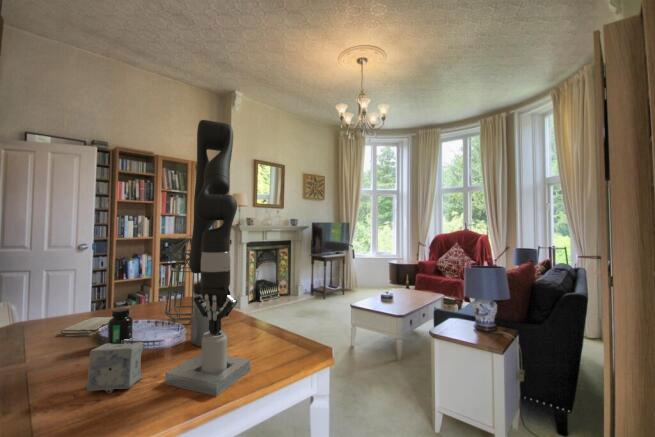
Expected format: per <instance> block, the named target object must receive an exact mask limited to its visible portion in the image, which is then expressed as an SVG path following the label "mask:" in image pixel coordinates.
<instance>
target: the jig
mask: <svg viewBox="0 0 655 437" xmlns="http://www.w3.org/2000/svg"><path fill="white" fill-rule="evenodd" d="M201 365H202V352H201V353H199V354H197V355H196V356H194V357H192V358H190V359H188V360H186V361H184V362H182V363H180V364H179V365H176V367H173V368H171V369H169V370H168V371H166V372H165V385H167V386H172V387H176V388H180V389H183V390H184V389H185V390H187V391H188V390H189V391H193V392H195V393H196V392H197V393H200V394H205V395H209V396H213V397H219V395H220V394H222V393H223V392H225V390H226V391H227V389H229V388H230V387H232V385H234V384H235V383H236V382H238V380H240V379H241V378H242V377H244V376H246V375H247V374H248V373H249V372H251V360H250V359H246V358H241V357H235V356H230V355H227V369H226V370H224V371H223V372H221V373H220V374H218V375H217V376H215V375H210V374H206V373H201Z"/></svg>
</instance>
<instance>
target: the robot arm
mask: <svg viewBox="0 0 655 437" xmlns="http://www.w3.org/2000/svg"><path fill="white" fill-rule="evenodd" d="M196 133H197V134H196V176H195V177H196V178H195V188H194V196H193V197H194V199H193V227H192V235H191V238H192V242H191V245H190V249H189V250H190V251H189V253H190V256H189V257H190V260H189V261H188V263H189V264H190V268H189V269H190V270H189V271H192V272H191V273H192V274H193V273H194V274H197V273H199V274H200V281H199V283H197V282H196V283H194V295H193V306H194V307H193V313H194V314H192V315H191V316H190V318H191V320H190V323H191V324H190V343H192V344H193V345H194V346H198V347H202V338H203V337H204V336H203V334H204V333H206V332H208V331H210V334H217V333H219V332H220V330H222V327H223V326H222V323H223V322H222V321H223V320H222V319H224V318H226V317H228V316H229V315H230V313H231V312H232V310H233V309H234V307H235V306H236V305H237V304H238V299H236V298H233V297H232V296H231V292H230V285H231V253H230V252H231V251H230V250H231V249H230V248H231V247H230V246H231V233H232V232H231V231H232V227H233V224H234V223H233V222H234V220H235V218H236V213H237V209H238V202H237V200H236V198H235V197H234V196H233V195H230V194H229V192H230V188H231V187H230V185H231V184H230V168H231V160H232V155H233V147H234V130H233V126H232V125H231V124H228V123H225V122H220V121H212V120H208V119H201V120H200V121H199V122H198V125H197V130H196ZM208 150H209V151H217V152H219V153H218V154H216V156H214V157H212V159H209V156H208ZM216 221H222V224H221V225H220V226H219V227H216V228H211V227H212V226H213V225H214V224H215V222H216ZM222 331H223V330H222Z"/></svg>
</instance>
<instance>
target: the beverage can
mask: <svg viewBox="0 0 655 437" xmlns="http://www.w3.org/2000/svg"><path fill="white" fill-rule="evenodd" d="M203 336H204V337H203V338H202V346H201V353H202V365H201V373H206V374H210V375H215V376H217V375H218V374H220V373H221V372H223V371H224V370H226V369H227V356H228V336H227V335H226V331H225V330H220V332H219V333H217V334H210V331H208V332H206V333H204V334H203Z"/></svg>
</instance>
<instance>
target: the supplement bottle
mask: <svg viewBox="0 0 655 437" xmlns="http://www.w3.org/2000/svg"><path fill="white" fill-rule="evenodd" d="M111 317H113V318H112V319H110V320H109V322H108V328H107V343H111V344H121V340H124V339H130V338H132V339H133V328H134V327H133V320H134V319H133V317H132V316H131V315H130V308H129V307H121V308H120V307H119V308H115V309H113V310H112V311H111Z"/></svg>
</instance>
